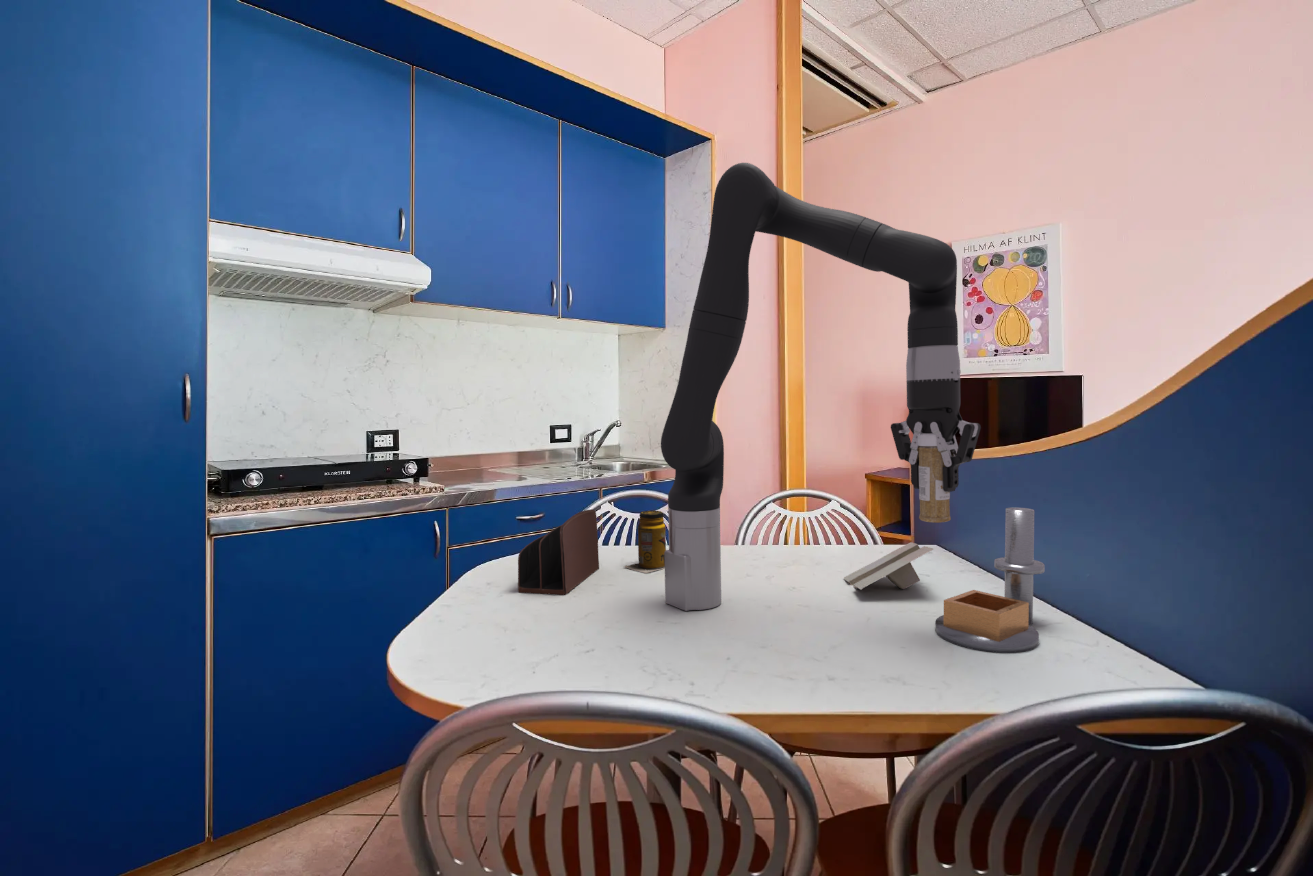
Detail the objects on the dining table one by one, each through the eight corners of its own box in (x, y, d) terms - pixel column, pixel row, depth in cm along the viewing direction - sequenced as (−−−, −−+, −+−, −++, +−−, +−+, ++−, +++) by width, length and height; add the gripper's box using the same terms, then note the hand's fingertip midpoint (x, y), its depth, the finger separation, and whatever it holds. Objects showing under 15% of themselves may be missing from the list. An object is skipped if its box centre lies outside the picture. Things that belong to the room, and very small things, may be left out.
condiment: (674, 566, 145) (673, 511, 145) (646, 574, 140) (645, 517, 139) (651, 560, 151) (650, 508, 150) (623, 568, 145) (622, 513, 144)
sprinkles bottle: (952, 523, 99) (951, 433, 98) (919, 522, 101) (918, 434, 100) (948, 518, 103) (947, 431, 103) (917, 517, 105) (916, 432, 104)
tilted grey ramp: (894, 627, 116) (957, 569, 116) (859, 589, 118) (922, 532, 117) (872, 611, 133) (928, 561, 133) (842, 578, 134) (897, 528, 134)
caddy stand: (1008, 660, 91) (1010, 530, 90) (916, 632, 102) (917, 516, 101) (1075, 628, 103) (1078, 512, 102) (986, 606, 114) (987, 502, 113)
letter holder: (599, 569, 145) (598, 505, 144) (566, 596, 125) (564, 522, 124) (556, 567, 147) (554, 504, 146) (517, 593, 128) (514, 521, 127)
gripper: (877, 380, 104) (879, 488, 105) (964, 375, 93) (965, 497, 94) (905, 379, 109) (907, 483, 110) (992, 374, 97) (993, 491, 98)
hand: (934, 489), depth 102 cm, fingers closed on sprinkles bottle, 4 cm apart
